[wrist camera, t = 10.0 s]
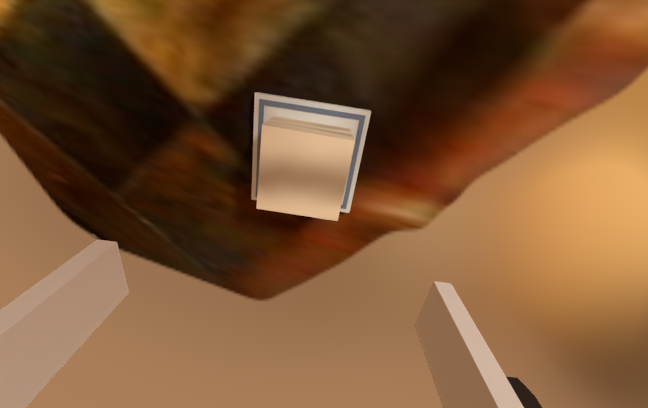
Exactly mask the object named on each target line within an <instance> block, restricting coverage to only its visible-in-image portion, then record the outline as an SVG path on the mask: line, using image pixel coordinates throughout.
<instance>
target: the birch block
mask: <svg viewBox="0 0 648 408" xmlns="http://www.w3.org/2000/svg"><path fill="white" fill-rule="evenodd" d="M354 145H355V139H354V137H353V135H352V133H351V130H350V129H349V128H344V127H338V126H333V125H327V124H321V123H316V122H310V121H305V120H299V119H293V118H288V117H282V116H277V115H274V116H273V117H271V118H270V119H269V120H268V121H266V122H265V123H264V124H262V132H261V147H260V162H259V177H258V193H257V208H256V209H262V210H268V211H275V212H282V213H288V214H295V215H301V216H308V217H314V218H321V219H327V220H334V221H338V217H339V212H340V208H341V203H342V199H343V194H344V190H345V185H346V181H347V176H348V172H349V168H350V163H351V159H352V154H353V150H354Z"/></svg>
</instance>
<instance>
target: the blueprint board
mask: <svg viewBox="0 0 648 408" xmlns="http://www.w3.org/2000/svg"><path fill="white" fill-rule="evenodd" d="M274 115H277V116H282V117H288V118H293V119H299V120H305V121H310V122H316V123H321V124H327V125H333V126H338V127H344V128H349V129H350V130H351V133H352V135H353V137H354V139H355V145H354V150H353V154H352V159H351V163H350V168H349V172H348V176H347V181H346V185H345V190H344V194H343V199H342V203H341V208H340V212H347V213H349V212H350V207H351V203H352V198H353V193H354V189H355V184H356V180H357V175H358V170H359V166H360V161H361V156H362V152H363V147H364V143H365V138H366V133H367V129H368V124H369V120H370V115H371V111H370V110H366V109H359V108H353V107H347V106H341V105H334V104H328V103H322V102H316V101H309V100H303V99H297V98H291V97H284V96H278V95H272V94H265V93H259V92H255V98H254V130H253V162H252V195H251V200H257V193H258V177H259V162H260V147H261V132H262V124H264V123H265V122H266V121H268V120H269V119H270V118H271V117H273V116H274Z"/></svg>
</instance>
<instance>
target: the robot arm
mask: <svg viewBox="0 0 648 408" xmlns="http://www.w3.org/2000/svg"><path fill="white" fill-rule="evenodd" d="M128 293H129V289H128V285H127V281H126V277H125V273H124V269H123V265H122V261H121V256H120V252H119V248H118V244H117V242H113V241H105V240H96V241H94V242H93V243H91V244H90V245H89V246H87V247H86V248H85V249H83V250H82V251H80V252H79V253H78V254H76V255H75V256H74V257H72V258H71V259H69V260H68V261H67V262H65V263H64V264H62V265H61V266H60V267H58V268H57V269H56V270H54V271H53V272H51V273H50V274H49V275H47V276H46V277H45V278H43V279H42V280H40V281H39V282H38V283H37V284H35V285H33V286H32V287H31V288H29V289H28V290H27V291H25V292H24V293H22V294H21V295H20V296H18V297H17V298H16V299H14V300H13V301H11V302H10V303H9V304H7V305H6V306H4V307H3V308H2V309H0V408H26V407H27V406H28V405H29V404H30V402H31V401H32V400H33V399H34V398H35V397H36V396H37V395H38V394H39V392H40V391H41V390H42V389H43V388H44V387H45V386H46V385H47V384H48V382H49V381H50V380H51V379H52V378H53V377H54V376H55V375H56V374H57V372H58V371H59V370H60V369H61V368H62V367H63V366H64V365H65V364H66V362H67V361H68V360H69V359H70V358H71V357H72V356H73V355H74V354H75V352H76V351H77V350H78V349H79V348H80V347H81V346H82V345H83V344H84V342H85V341H86V340H87V339H88V338H89V337H90V336H91V335H92V334H93V332H94V331H95V330H96V329H97V328H98V327H99V326H100V325H101V324H102V322H103V321H104V320H105V319H106V318H107V317H108V316H109V315H110V314H111V312H112V311H113V310H114V309H115V308H116V307H117V306H118V305H119V304H120V302H121V301H122V300H123V299H124V298H125V297H126V296H127V295H128ZM415 328H416V331H417V334H418V337H419V340H420V343H421V345H422V348H423V351H424V354H425V357H426V360H427V363H428V365H429V369H430V371H431V374H432V377H433V380H434V383H435V386H436V389H437V392H438V395H439V397H440V400H441V403H442V406H443V408H542V407H541V405H540V404H539V402H538V401H537V399H536V397H535V396H534V395H533V394H532V393H531V392H530V391H529V390H528V388H526V386H525V385H524V384H523V383H522V382H521V381H520V380H519V379H518V378H513V377H506V376H505V375H504V373H503V371H502V369H501V368H500V366H499V364H498V363H497V361H496V359H495V357H494V356H493V354H492V352H491V351H490V349H489V347H488V346H487V344H486V342H485V340H484V339H483V337H482V335H481V334H480V332H479V330H478V329H477V327H476V325H475V323H474V322H473V320H472V318H471V317H470V315H469V313H468V312H467V310H466V308H465V306H464V305H463V303H462V301H461V300H460V298H459V296H458V295H457V293H456V291H455V289H454V288H453V286H452V284H451V283H442V282H435V281H434V282H433V285H432V287H431V289H430V291H429V293H428V296H427V298H426V300H425V303H424V305H423V307H422V309H421V312H420V314H419V316H418V319H417V321H416V323H415Z"/></svg>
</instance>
